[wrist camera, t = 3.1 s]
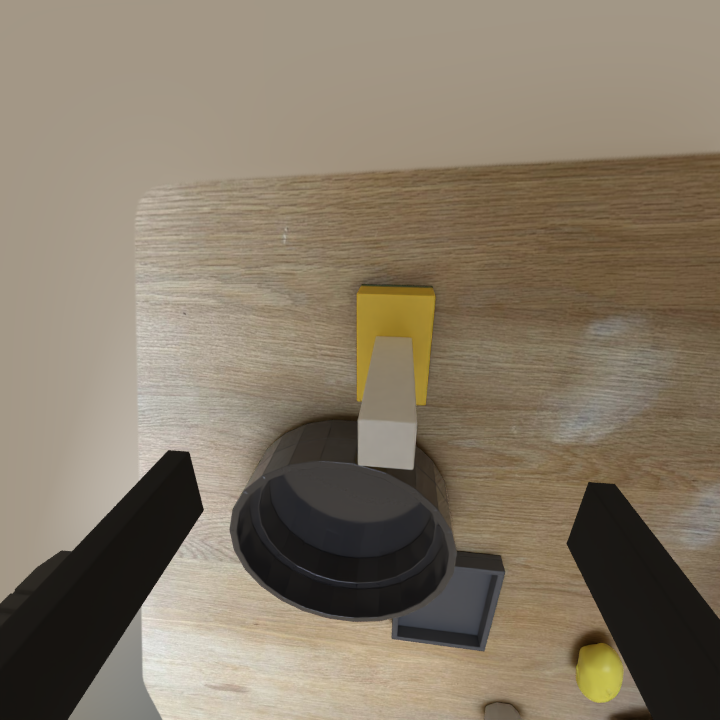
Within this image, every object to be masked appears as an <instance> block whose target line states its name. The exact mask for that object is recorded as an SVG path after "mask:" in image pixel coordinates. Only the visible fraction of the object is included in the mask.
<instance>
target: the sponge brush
mask: <svg viewBox="0 0 720 720" xmlns="http://www.w3.org/2000/svg"><path fill="white" fill-rule="evenodd" d="M435 299H436V296H435V293H434V290H433V287H432V286H410V285H372V284H362V285H361V287H360V289H359V291H358V293H357V401H361V402H362V403H361V407H360V412H359V417H358V465H360V466H372V467H384V468H396V469H408V470H413V468H414V458H415V446H416V434H417V410H416V405H426V396H427V385H428V374H429V364H430V353H431V342H432V332H433V321H434V310H435Z"/></svg>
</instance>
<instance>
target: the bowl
mask: <svg viewBox="0 0 720 720" xmlns="http://www.w3.org/2000/svg"><path fill="white" fill-rule="evenodd" d="M230 534H231V538H232V543H233V548H234V551H235V553H236V554H237V556H238V558H239V560H240V562H241V563H242V565H243V567H244V568H245V570H246V571H247V572H248V573H249V574H250V575H251V576H252V577H253V578H254V579H255V580H256V581H257V583H258V584H259V585H261V586H262V587H263V588H264V589H266V590H267V591H269V592H270V593H271V594H273V595H274V596H276V597H277V598H278V599H280V600H281V601H283V602H286V603H288V604H290V605H292V606H294V607H296V608H298V609H300V610H302V611H305V612H308V613H312V614H315V615H319V616H322V617H325V618H329V619H337V620H344V621H352V622H365V621H383V620H387V619H392V618H397V617H401V616H404V615H407V614H409V613H412V612H414V611H416V610H418V609H420V608H423V607H425V606H426V605H428V604H429V603H430V602H431V601H432V600H434V599H435V598H436V597H437V596H438V595H440V594H441V593H442V592H443V590H444V589H445V587H446V586H447V584H448V582H449V581H450V579H451V577H452V576H453V574H454V568H455V562H456V556H457V550H456V544H455V537H454V531H453V525H452V518H451V511H450V505H449V499H448V495H447V490H446V485H445V482H444V479H443V478H442V476H441V474H440V473H439V471H438V469H437V468H436V466H435V464H434V462H433V461H432V460H431V459H430V458H429V457H428V456H427V455H426V454H425V453H424V452H423V451H422V450H421V449H419V448H418V447H417V446H415V458H414V468H413V470H408V469H396V468H384V467H372V466H360V465H358V421H346V420H328V421H322V422H316V423H310V424H305V425H303V426H301V427H299V428H296V429H294V430H292V431H290V432H287V433H285V434H284V435H283V436H281V437H280V438H279V439H278V440H277V441H275V442H274V443H273V444H272V445H271V446H270V447H268V448H267V450H266V452H265V453H264V455H263V457H262V459H261V460H260V462H259V464H258V465H257V467H256V469H255V471H254V472H253V474H252V476H251V478H250V479H249V481H248V483H247V485H246V487H245V488H244V490H243V492H242V494H241V495H240V497H239V499H238V501H237V502H236V504H235V506H234V508H233V510H232V517H231V524H230Z"/></svg>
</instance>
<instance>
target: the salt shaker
mask: <svg viewBox="0 0 720 720" xmlns="http://www.w3.org/2000/svg"><path fill="white" fill-rule="evenodd" d="M484 720H522V718H521V716H520V715H519V713H518V711H517V710H516V709H515V708H514V707H513V706H512V705H511V704H504V703H498V702H496V703H493V704H491V705H488V706H486V708H485V716H484Z"/></svg>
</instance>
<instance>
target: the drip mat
mask: <svg viewBox="0 0 720 720" xmlns="http://www.w3.org/2000/svg"><path fill="white" fill-rule="evenodd" d="M504 575H505V570H504V566H503V562H502V559H501V556H497V555H487V554H478V553H468V552H459V551H457V556H456V562H455V568H454V574H453V576H452V577H451V579H450V581H449V582H448V584H447V586H446V587H445V589H444V590H443V592H442V593H441V594H440V595H438V596H437V597H436V598H435V599H434V600H432V601H431V602H430V603H429V604H428V605H426V606H425V607H423V608H420V609H418V610H416V611H414V612H412V613H409V614H407V615H404V616H401V617H397V618H392V639H396V640H404V641H411V642H418V643H426V644H433V645H441V646H448V647H455V648H463V649H470V650H478V651H485V647H486V643H487V639H488V636H489V632H490V628H491V624H492V620H493V617H494V613H495V609H496V605H497V601H498V598H499V594H500V590H501V586H502V582H503V579H504Z"/></svg>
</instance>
